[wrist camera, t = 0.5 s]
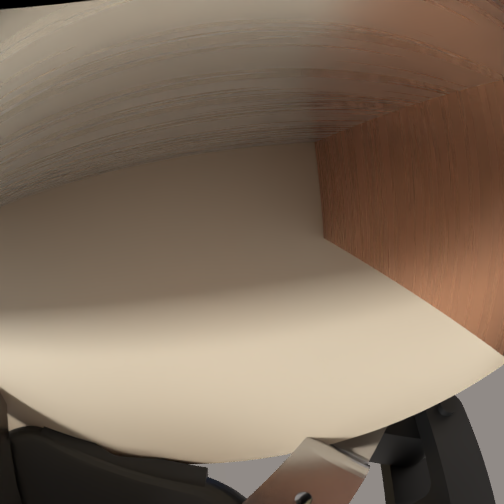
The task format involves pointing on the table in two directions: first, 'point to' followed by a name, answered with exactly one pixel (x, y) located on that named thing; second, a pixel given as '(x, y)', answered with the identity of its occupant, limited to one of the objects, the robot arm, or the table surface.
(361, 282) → the birch stand
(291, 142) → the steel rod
